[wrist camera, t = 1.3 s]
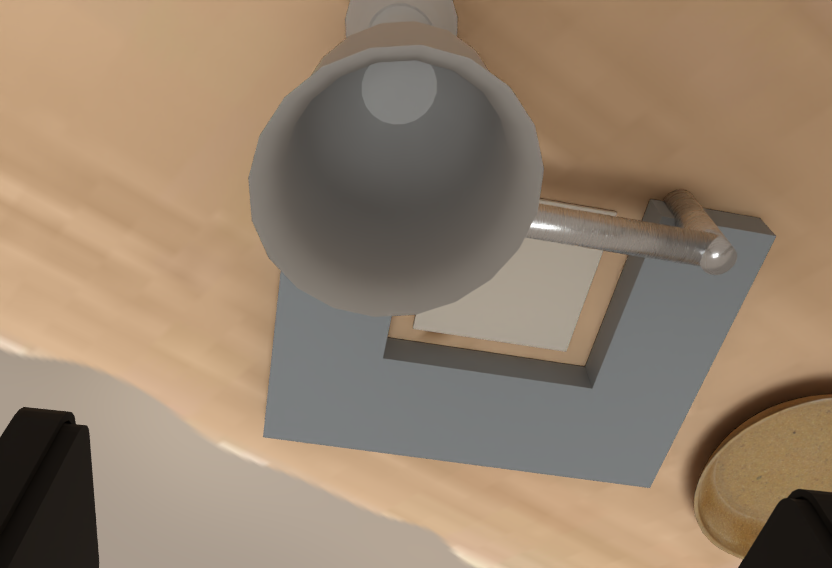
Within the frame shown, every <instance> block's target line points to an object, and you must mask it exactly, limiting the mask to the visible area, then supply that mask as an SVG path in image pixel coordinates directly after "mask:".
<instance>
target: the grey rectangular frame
mask: <svg viewBox="0 0 832 568" xmlns="http://www.w3.org/2000/svg"><path fill="white" fill-rule="evenodd" d="M703 209H704V211H705V212H706V213H707V214H708V216H709V217H710V218H711V219H712V221H713V222H714V223H715V224H716V226H717V227H718V228H719V230H720V231H721V232H722V233H723V235H724V236H725V237H726V238H727V240H728V241H729V242H730V243H731V245H732V246H733V247H734V249H735V250H736V252H737V260H736V263H735V265H734V266H733V267H732V268H731V269H730V270H729V271H727V272H725V273H723V274H720V275H711V274H708V273H706V272H705V271H704V270H703V269H702V268H701V267H699V266H693V265H687V264H681V263H675V262H669V261H663V260H657V259H650V258H644V257H638V256H632V255H628V258H627V260H626V263H625V265H624V268H623V271H622V273H621V276H620V278H619V281H618V283H617V286H616V289H615V291H614V294H613V296H612V299H611V301H610V304H609V307H608V309H607V312H606V314H605V317H604V319H603V322H602V325H601V327H600V330H599V332H598V335H597V337H596V340H595V343H594V345H593V348H592V350H591V353H590V355H589V358H588V361H587V363H586V366H585V367H583V366H577V365H570V364H563V363H556V362H550V361H543V360H536V359H529V358H522V357H516V356H509V355H502V354H495V353H489V352H482V351H475V350H468V349H462V348H455V347H448V346H441V345H435V344H428V343H421V342H414V341H407V340H401V339H394V338H387V336H388V331H389V326H390V322H391V317H392V316H381V317H373V316H368V315H363V314H359V313H354V312H350V311H345V310H341V309H336V308H333V307H331V306H329V305H327V304H325V303H324V302H322V301H320V300H318V299H316V298H315V297H313V296H311V295H309V294H307V293H305V292H304V291H302V290H300V289H298V288H297V287H296V286H295V285H294V284H293V283H292V282H291V281H290V280H289V279H288V278H287V277H286V276H285V275H284V273H283V272H282V271H281V274H280V284H279V293H278V302H277V312H276V321H275V331H274V340H273V349H272V359H271V368H270V378H269V387H268V396H267V406H266V415H265V425H264V434H263V437H265V438H273V439H281V440H288V441H296V442H304V443H311V444H319V445H326V446H334V447H342V448H349V449H357V450H365V451H372V452H380V453H387V454H395V455H403V456H410V457H418V458H426V459H433V460H441V461H448V462H456V463H464V464H471V465H479V466H487V467H494V468H502V469H509V470H517V471H525V472H532V473H540V474H548V475H555V476H563V477H570V478H578V479H586V480H593V481H601V482H608V483H616V484H624V485H631V486H639V487H647V488H650V487H651V485H652V483H653V481H654V479H655V477H656V475H657V473H658V471H659V469H660V467H661V465H662V463H663V461H664V459H665V457H666V455H667V453H668V451H669V449H670V447H671V445H672V443H673V441H674V439H675V437H676V435H677V433H678V431H679V429H680V427H681V425H682V423H683V421H684V419H685V417H686V415H687V413H688V411H689V409H690V407H691V405H692V403H693V401H694V399H695V397H696V395H697V393H698V391H699V389H700V387H701V385H702V383H703V381H704V379H705V377H706V375H707V373H708V371H709V369H710V367H711V365H712V363H713V361H714V359H715V357H716V355H717V353H718V351H719V349H720V347H721V345H722V343H723V341H724V339H725V337H726V335H727V333H728V331H729V329H730V327H731V325H732V323H733V321H734V319H735V317H736V315H737V313H738V311H739V309H740V307H741V305H742V303H743V301H744V299H745V297H746V295H747V293H748V291H749V289H750V287H751V285H752V283H753V281H754V279H755V277H756V276H757V274H758V272H759V270H760V268H761V266H762V264H763V262H764V260H765V258H766V256H767V254H768V252H769V250H770V248H771V246H772V244H773V242H774V240H775V238H776V235H775V234H774V233H773V232H772V231H771V230H770V229H769V228H768V226H767V225H766V224H765V223H764V222H763V221H762V220H761V219H760V218H756V217H751V216H745V215H739V214H733V213H728V212H722V211H716V210H710V209H705V208H703ZM642 221H645V222H651V223H657V224H663V225H669V226H674V222H675V217H674V216H673V214H672V213H671V212H670V210H669V209H668V207H667V206H666V204H665V203H664V202H663V201H659V200H653V199H650V201H649V204H648V206H647V209H646V212H645V214H644V217H643V219H642Z"/></svg>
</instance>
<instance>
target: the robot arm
mask: <svg viewBox="0 0 832 568" xmlns="http://www.w3.org/2000/svg"><path fill="white" fill-rule="evenodd" d="M0 568H99V554H98V540H97V527H96V514H95V501H94V488H93V475H92V462H91V449H90V436H89V429H88V427H87V426H86V425H77V424H76V423H75V417H74V415H73V413H72V412H66V411H56V410H47V409H38V408H28V407H23V408H21V409H20V410H19V411H18V412H17V413H16V414H15V415H14V417H13V418H12V420H11V421H10V423H9V425H8V426H7V428H6V429H5V431H4V432H3V434H2V436H1V437H0ZM738 568H832V492H826V491H816V490H807V489H797V490H794V491H792V492H791V494H790V495H789V496H788V497H787V498H784V499H782V500H780V501H779V503H778V504H777V505H776V507H775V509H774V510H773V512H772V514H771V515H770V517H769V518H768V520H767V522H766V523H765V525H764V527H763V528H762V530H761V531H760V533H759V535H758V536H757V538H756V540H755V541H754V543H753V544H752V546H751V548H750V549H749V551H748V553H747V554H746V556H745V557H744V559H743V561H742V562H741V564H740V566H739V567H738Z"/></svg>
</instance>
